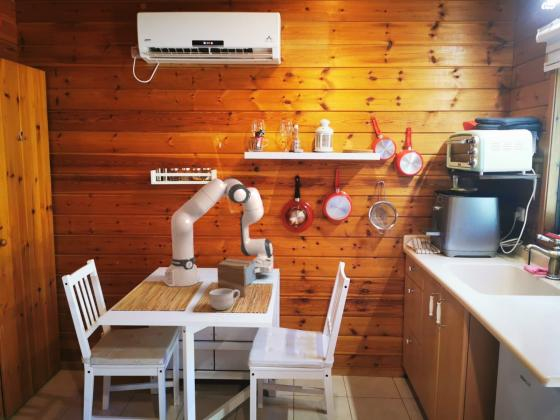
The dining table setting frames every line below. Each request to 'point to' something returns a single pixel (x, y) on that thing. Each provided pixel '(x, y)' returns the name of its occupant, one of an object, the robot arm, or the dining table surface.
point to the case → (249, 274)
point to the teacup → (222, 298)
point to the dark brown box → (233, 275)
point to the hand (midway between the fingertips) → (249, 271)
